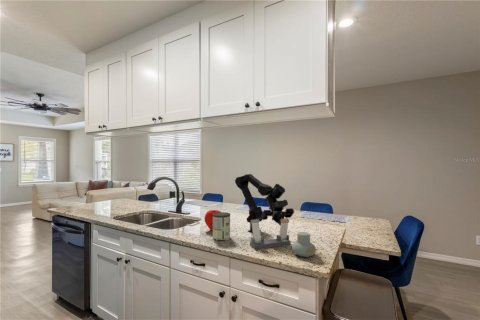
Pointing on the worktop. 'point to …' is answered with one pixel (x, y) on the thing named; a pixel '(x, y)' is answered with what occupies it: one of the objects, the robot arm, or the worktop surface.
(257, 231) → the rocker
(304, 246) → the air freshener
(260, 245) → the switch base
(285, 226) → the block
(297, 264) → the worktop surface
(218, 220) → the coffee can
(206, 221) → the apple
